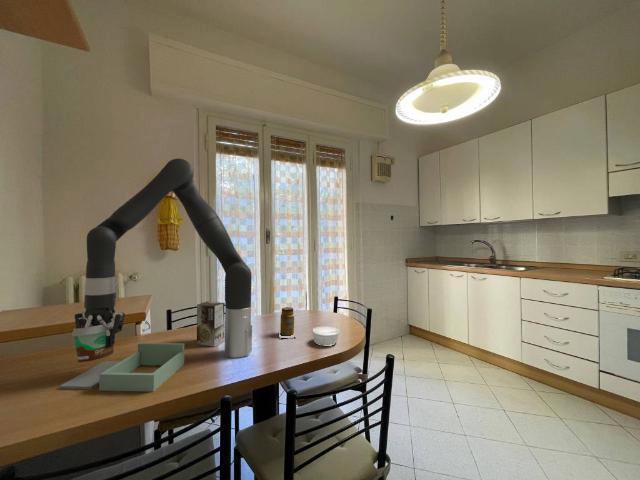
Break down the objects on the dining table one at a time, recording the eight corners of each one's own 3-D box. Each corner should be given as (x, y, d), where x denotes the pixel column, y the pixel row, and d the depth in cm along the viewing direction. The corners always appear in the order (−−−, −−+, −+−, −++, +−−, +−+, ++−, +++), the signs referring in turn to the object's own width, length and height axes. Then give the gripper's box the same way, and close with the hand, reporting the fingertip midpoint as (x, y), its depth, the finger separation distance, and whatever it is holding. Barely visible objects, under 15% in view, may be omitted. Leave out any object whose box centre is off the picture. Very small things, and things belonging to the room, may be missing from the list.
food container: (90, 364, 79) (89, 329, 79) (72, 364, 80) (71, 329, 80) (128, 348, 91) (126, 317, 91) (112, 348, 92) (110, 317, 92)
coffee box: (224, 341, 115) (225, 302, 115) (214, 347, 109) (214, 306, 109) (207, 338, 118) (207, 300, 118) (195, 344, 112) (196, 303, 112)
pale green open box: (184, 364, 94) (184, 343, 94) (153, 391, 77) (154, 365, 77) (139, 363, 94) (139, 342, 94) (99, 390, 77) (99, 365, 77)
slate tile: (131, 364, 93) (131, 361, 93) (91, 389, 77) (91, 386, 77) (104, 363, 93) (104, 361, 93) (59, 389, 77) (59, 386, 77)
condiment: (293, 332, 128) (294, 306, 128) (296, 338, 120) (296, 310, 120) (278, 333, 127) (278, 306, 127) (279, 339, 119) (279, 311, 119)
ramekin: (331, 350, 108) (331, 336, 108) (306, 344, 113) (307, 331, 113) (343, 341, 118) (343, 329, 118) (320, 336, 123) (320, 324, 123)
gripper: (132, 290, 89) (131, 343, 89) (87, 289, 89) (86, 342, 89) (114, 294, 82) (113, 352, 81) (65, 293, 82) (64, 351, 82)
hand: (99, 346), depth 85 cm, fingers closed on food container, 5 cm apart
